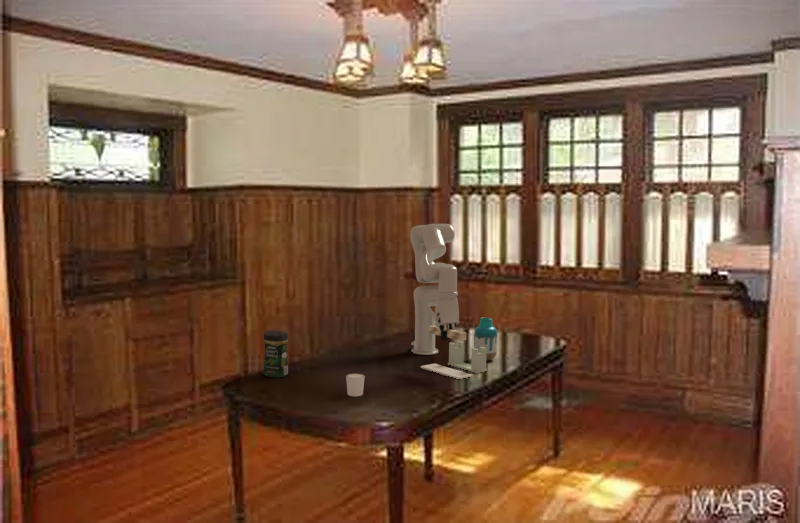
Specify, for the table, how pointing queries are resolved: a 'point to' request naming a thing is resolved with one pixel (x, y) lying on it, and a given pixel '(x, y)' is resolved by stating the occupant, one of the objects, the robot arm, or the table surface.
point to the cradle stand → (476, 361)
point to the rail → (448, 333)
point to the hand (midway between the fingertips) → (447, 339)
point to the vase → (486, 337)
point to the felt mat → (446, 371)
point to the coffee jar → (275, 353)
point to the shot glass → (355, 384)
